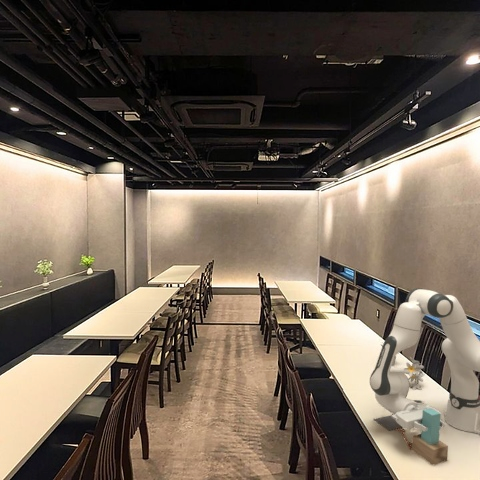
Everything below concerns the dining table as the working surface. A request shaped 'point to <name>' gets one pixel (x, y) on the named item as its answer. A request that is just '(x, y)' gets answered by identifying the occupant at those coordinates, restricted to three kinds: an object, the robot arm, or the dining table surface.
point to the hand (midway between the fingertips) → (434, 427)
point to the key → (404, 437)
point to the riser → (429, 450)
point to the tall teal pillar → (431, 426)
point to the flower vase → (411, 372)
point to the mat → (388, 423)
